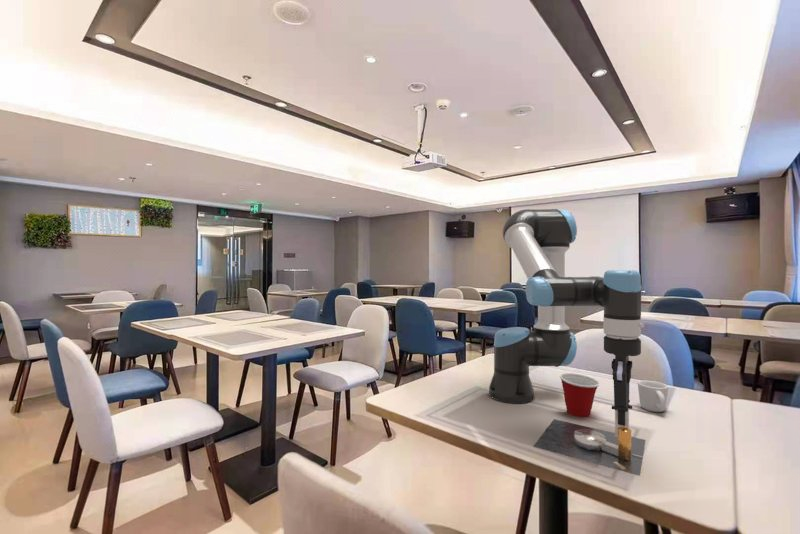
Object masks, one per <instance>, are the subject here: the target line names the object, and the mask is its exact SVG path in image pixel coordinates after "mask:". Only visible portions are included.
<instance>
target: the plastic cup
mask: <svg viewBox="0 0 800 534" xmlns="http://www.w3.org/2000/svg"><path fill="white" fill-rule="evenodd" d="M559 378H560V380H561V384H562V391H563V395H564V396H563V397H564V404H565V408H566V413H567V414H569V415H570V416H573V417H576V418H577V417H578V418H588V417H591V413H592V409H593V406H594V400H595V399H594V398H595V394H596V392H597V389H598V387H599V386H600V384H601V382H600V381H599V380H597V379H596V378H595V377H591V376H588V375H586V374H585V375H584V374H582V373H581V374H580V373H572V372H571V373H570V372H569V373H568V372H566V373H561V374H560V375H559Z"/></svg>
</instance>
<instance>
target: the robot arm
mask: <svg viewBox="0 0 800 534" xmlns="http://www.w3.org/2000/svg"><path fill="white" fill-rule="evenodd" d="M503 224H504V225H503V227H502V237H503V240H504V243H505V244H506V245H507V247H508V248H510V249H512V251H513V253H514V255H515V257H516V259H517V261H518V262H519V265H520V267H521V269H522V270H523V272H524V274H525V277H526V278H527V280H526V282H525V295H526V300H527V302H528V303H529V304H530V305H531V306H535V307H537V322H536V323H535V324H534V325H533V331H530V329H529V328H528V327H523V326H520V327H519V326H513V327H512V326H511V327H506V328H505V327H504V328H502V329H499V330H497V331H496V332H495V334H494V338H493V339H494V341H493V353H494V355H493V374H492V375H493V376H492V377H491V379H490V384H489V387H488V395H489V394H490V395H489V397H490V398H492V397H493V398H492V399H494V398H495V399H494V400H496V399H497V400H496V401H499V402H502V401H503V402H504V403H508V404H509V403H510V404H526V403H531V402H532V401H535V390H534V387H533V384H532V380H531V377H530V367H555V368H557V367H558V368H559V367H567V366H569V365H571V364H572V362H574V360H575V359H576V355H577V350H578V343H577V341H576V340H577V339H576V336H575V334H574V333H573V332H571V331H570V327H569V326H568V325H567V323H566V321H565V319H566V318H565V316H566V315H565V314H566V310H565V309H566V308H565V307H600V308H603V331H602V332H603V334H605V336H603V351H604V352H606V353H607V354H610V355H614V356H615V357H614V358H612V361H611V369H612V380H613V399H614V400H613V401H614V404H613V405H611V409H612V410H614V433H615V437H618V428H619V427H625V428H628V429H630V410H633V405H630V384H631V383H630V382H631V378H632V369H633V361H632V360H630V357H637V356H640V355H641V353H642V339H641V338H639V337H641V335H642V333H641V330H642V329H643V328H644V327H645V324H644V323H643V322H642V323H641V317H642V290H643V288H642V287H643V286H642V283H641V282H642V281H641V274H640V272H639V271H637V270H631V269H630V270H629V269H628V270H627V269H626V270H624V269H623V270H622V269H617V270H616V269H611V270H606V271H605V272H604V274H603V276H577V277H576V276H566V274H565V273H566V272H565V270H566V269H565V266H566V265H565V264H566V261H565V257H566V256H565V255H566V252H567V251H568V250H569V249H570V244H572V243H574V242H575V240H576V236H577V235H578V234H577V233H578V226H577V221H576V219H575V216H574V215H573V214H572V213H571V211H570V210H567V209H558V208H551V209H550V208H549V209H545V208H544V209H542V208H541V209H530V208H529V209H521V210H518V211H516V212H514V213H513V214H511V215H510V216H509V217H508V218H507V219H506V221H505V223H503Z"/></svg>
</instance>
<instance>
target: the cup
mask: <svg viewBox="0 0 800 534" xmlns="http://www.w3.org/2000/svg"><path fill="white" fill-rule="evenodd" d="M637 387H638V389H637V390H638V396H639V397H638V398H639V405H640V407H641V408H642V409H644V410H645V411H649V412H654V413H660V412H663V411H665V410H666V407H667V399H668V391H669V386H668V385H667V384H666V383H662V382H659V381H657V380H656V381H655V380H645V379H644V380H638V382H637Z"/></svg>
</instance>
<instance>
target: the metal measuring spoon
mask: <svg viewBox="0 0 800 534" xmlns="http://www.w3.org/2000/svg"><path fill="white" fill-rule="evenodd" d="M631 437H632V430H631V429H630V428H629V429H628V428H625V427H619V428H618V445H615V444H612V443H610V442H607V441H606V437H605V436H604V435H603V434H601V433H599V432H597V431H593V430H588V429H578V430H576V431H574V442H575V443H576V444H577V445H578V446H580V447H582V448H585V449H589V450H604V451H606V452H609V453H611V454H614V455H617V456H619V457H620V458H622V459H627V460H629V459H631Z"/></svg>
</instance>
